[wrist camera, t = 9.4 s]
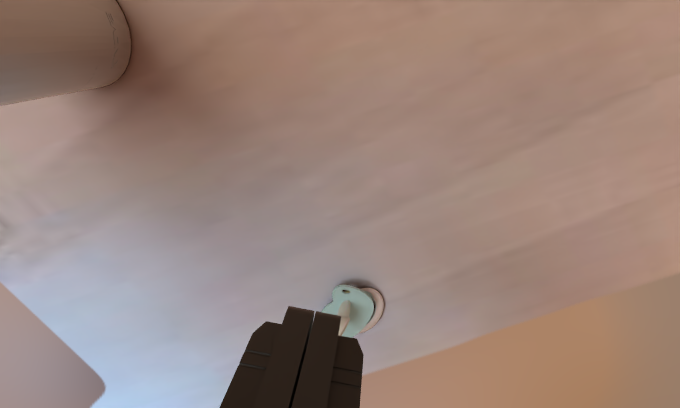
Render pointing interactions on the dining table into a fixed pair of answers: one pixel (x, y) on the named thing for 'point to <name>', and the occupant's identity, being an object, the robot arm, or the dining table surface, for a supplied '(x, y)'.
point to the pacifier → (355, 309)
